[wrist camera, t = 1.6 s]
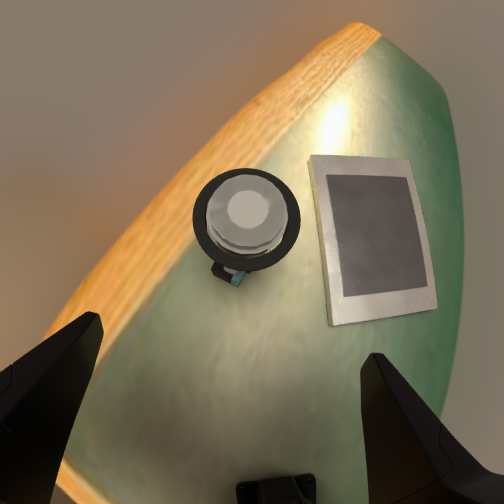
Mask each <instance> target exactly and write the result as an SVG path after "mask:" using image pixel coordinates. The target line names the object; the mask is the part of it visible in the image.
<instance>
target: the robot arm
mask: <svg viewBox="0 0 504 504" xmlns="http://www.w3.org/2000/svg"><path fill="white" fill-rule="evenodd" d="M103 334H104V331H103V327H102V323H101V319H100V315H99V314H98V313H94V312H90V311H88V312H85V313H84V314H82V315H81V316H79V317H78V318H77V319H75V320H74V321H72V322H71V323H69V324H68V325H66V326H65V327H63V328H62V329H60V330H59V331H58V332H56V333H55V334H53V335H52V336H50V337H49V338H47V339H46V340H45V341H43V342H42V343H40V344H39V345H38V346H36V347H35V348H34V349H32V350H31V351H29V352H28V353H26V354H25V355H24V356H22V357H21V358H19V359H18V360H16V361H15V362H14V363H13V365H12V364H11V365H9V366H8V367H7V368H5V369H4V370H3V371H1V372H0V504H50V501H51V497H52V493H53V490H54V486H55V482H56V479H57V475H58V471H59V468H60V464H61V461H62V458H63V455H64V451H65V448H66V445H67V442H68V439H69V436H70V433H71V430H72V427H73V424H74V422H75V419H76V416H77V413H78V410H79V408H80V405H81V402H82V400H83V397H84V394H85V392H86V389H87V387H88V384H89V381H90V379H91V376H92V373H93V370H94V366H95V363H96V359H97V356H98V352H99V349H100V346H101V342H102V339H103ZM360 381H361V415H362V424H363V433H364V442H365V453H366V464H367V477H368V492H369V504H504V475H500V474H496V473H492V472H490V471H489V470H487V469H485V468H484V467H483V466H482V465H481V464H480V463H479V462H478V461H477V460H476V459H475V458H474V457H473V456H472V455H471V454H470V453H469V452H468V451H467V450H466V449H465V448H464V447H463V446H462V445H461V444H460V443H459V442H458V441H457V440H456V439H455V438H454V436H453V435H452V434H451V433H450V432H449V431H448V429H447V428H446V427H445V426H444V425H443V423H441V421H440V420H439V419H438V417H437V416H436V415H435V414H434V413H433V411H432V410H431V409H430V408H429V407H428V405H427V404H426V403H425V402H424V401H423V400H422V398H421V397H420V396H419V395H418V394H417V392H416V391H415V390H414V389H413V388H412V387H411V385H410V384H409V383H408V382H407V381H406V380H405V378H404V377H403V376H402V375H401V374H400V373H399V371H398V370H397V369H396V368H395V367H394V366H393V365H392V363H391V362H390V361H389V360H388V359H387V358H386V357H385V355H384V354H382V353H371V354H370V355H369V356H368V358H367V359H366V361H365V362H364V364H363V366H362V368H361V371H360ZM310 478H311V480H310V481H307V480H308V479H310ZM240 487H244V489H240ZM236 494H237V502H238V504H316V479H315V477H314V475H312V474H307V475H301V476H295V477H292V476H287V477H280V478H272V479H263V480H260V481H253V482H241V483H238V484H237V485H236Z"/></svg>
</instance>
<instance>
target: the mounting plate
mask: <svg viewBox="0 0 504 504" xmlns="http://www.w3.org/2000/svg"><path fill="white" fill-rule="evenodd" d="M308 166H309V172H310V178H311V185H312V191H313V198H314V204H315V211H316V218H317V225H318V233H319V240H320V248H321V257H322V265H323V274H324V284H325V293H326V304H327V315H328V325H338V324H346V323H353V322H360V321H367V320H373V319H380V318H386V317H392V316H398V315H404V314H409V313H415V312H420V311H425V310H430V309H435V308H437V300H436V291H435V283H434V275H433V268H432V262H431V256H430V250H429V244H428V239H427V234H426V229H425V224H424V219H423V215H422V210H421V206H420V202H419V197H418V193H417V190H416V186H415V182H414V178H413V175H412V171H411V168H410V164H409V161H408V160H403V159H391V158H378V157H362V156H340V155H310V158H309V160H308Z"/></svg>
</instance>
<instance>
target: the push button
mask: <svg viewBox="0 0 504 504" xmlns="http://www.w3.org/2000/svg"><path fill="white" fill-rule="evenodd" d="M300 222H301V218H300V210H299V206H298V203H297V201H296V198H295V197H294V195H293V193H292V192H291V190H290V189H289V188H288V187H287V186H286V185H285V184H284V183H283V182H282V181H281V180H280V179H278V178H277V177H275V176H274V175H272V174H270V173H267V172H265V171H262V170H257V169H251V168H241V169H234V170H230V171H227V172H224V173H222V174H220V175H218V176H216V177H215V178H213V179H212V180H211V181H210V182H209V183H208V184H206V185H205V187H204V188H203V189H202V190H201V192H200V194H199V195H198V197H197V199H196V202H195V205H194V209H193V228H194V232H195V235H196V238H197V240H198V242H199V244H200V246H201V247H202V249H203V250H204V251H205V253H206V254H207V255H208V256H209V257H210V258H211V259H213V260H214V261H215V262H214V264H213V266H212V268H211V270H212V273H213V275H215V276H217V277H219V278H221V279H223V280H225V281H227V282H229V283H231V284H233V285H235V286H237V287H238V285H239V284H240V282H241V280H242V277H243V275H244V273H245V272H247V273H249V274H250V272H251V271H257V270H261V269H265V268H267V267H270V266H272V265H274V264H275V263H277V262H278V261H280V260H281V259H282V258H283V257H284V256H285V255H286V254H287V253H288V252H289V251H290V249H291V248H292V247H293V245H294V243H295V242H296V239H297V237H298V234H299V230H300ZM207 224H208V227H209V230H210V232H211V234H212V236H213V237H214V238H215V239H216V241H217V243H218V246H219V247H217V246H216V245H215V243H214V242H213V241H212V240H211V238H210V237H209V235H208V233H207ZM282 235H283V238H282V241H281V243H280V244H279V245H278V246H277V247H276V248H275V249H273V250H272V251H270V252H269V253H267V254H265V255H264V253H265V252H266V251H267V250H268V249H269V248H271V247H272V246H274V245H275V243H276V242H277V241H278V240H279V239H280V238H281V237H282Z"/></svg>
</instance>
